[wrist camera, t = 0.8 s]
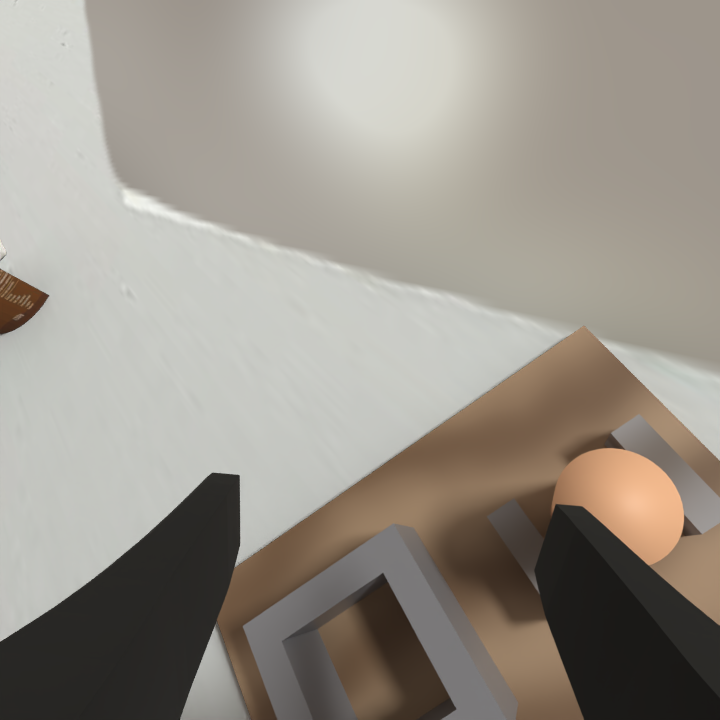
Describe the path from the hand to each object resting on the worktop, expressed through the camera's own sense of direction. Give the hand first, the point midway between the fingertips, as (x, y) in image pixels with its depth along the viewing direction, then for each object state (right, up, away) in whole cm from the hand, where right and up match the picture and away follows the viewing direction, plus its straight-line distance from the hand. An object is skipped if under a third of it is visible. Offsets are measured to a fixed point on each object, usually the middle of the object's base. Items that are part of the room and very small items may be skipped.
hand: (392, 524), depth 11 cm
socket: (+1, -11, +13) cm, 17 cm away
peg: (+10, -4, +12) cm, 16 cm away
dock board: (+5, -8, +13) cm, 16 cm away
